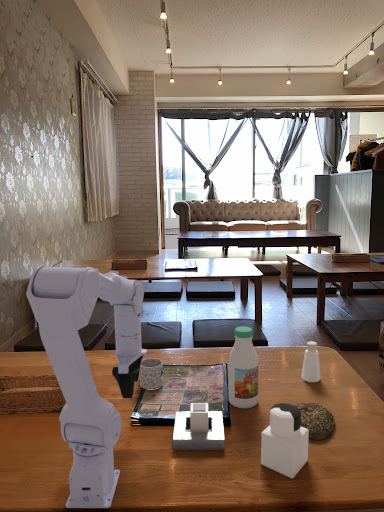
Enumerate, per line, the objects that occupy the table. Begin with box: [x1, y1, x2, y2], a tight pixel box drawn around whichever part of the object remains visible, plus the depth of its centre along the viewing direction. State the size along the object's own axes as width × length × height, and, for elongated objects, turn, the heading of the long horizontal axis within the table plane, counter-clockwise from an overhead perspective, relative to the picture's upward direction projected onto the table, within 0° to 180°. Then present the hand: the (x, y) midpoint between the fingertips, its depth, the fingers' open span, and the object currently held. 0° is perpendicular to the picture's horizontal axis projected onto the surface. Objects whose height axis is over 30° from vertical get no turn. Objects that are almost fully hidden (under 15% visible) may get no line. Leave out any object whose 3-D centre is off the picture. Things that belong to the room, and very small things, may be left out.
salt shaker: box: [300, 340, 321, 383], centre depth 119 cm, size 5×5×11 cm
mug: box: [139, 357, 164, 389], centre depth 118 cm, size 10×7×7 cm, turn 25°
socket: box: [172, 410, 225, 451], centre depth 93 cm, size 11×11×2 cm
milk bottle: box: [227, 325, 259, 409], centre depth 106 cm, size 8×8×20 cm
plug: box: [190, 402, 209, 432], centre depth 93 cm, size 4×4×6 cm
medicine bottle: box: [260, 402, 309, 479], centre depth 82 cm, size 7×7×12 cm
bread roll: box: [293, 402, 335, 441], centre depth 97 cm, size 13×12×5 cm
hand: (130, 389), depth 93 cm, fingers open, 7 cm apart
